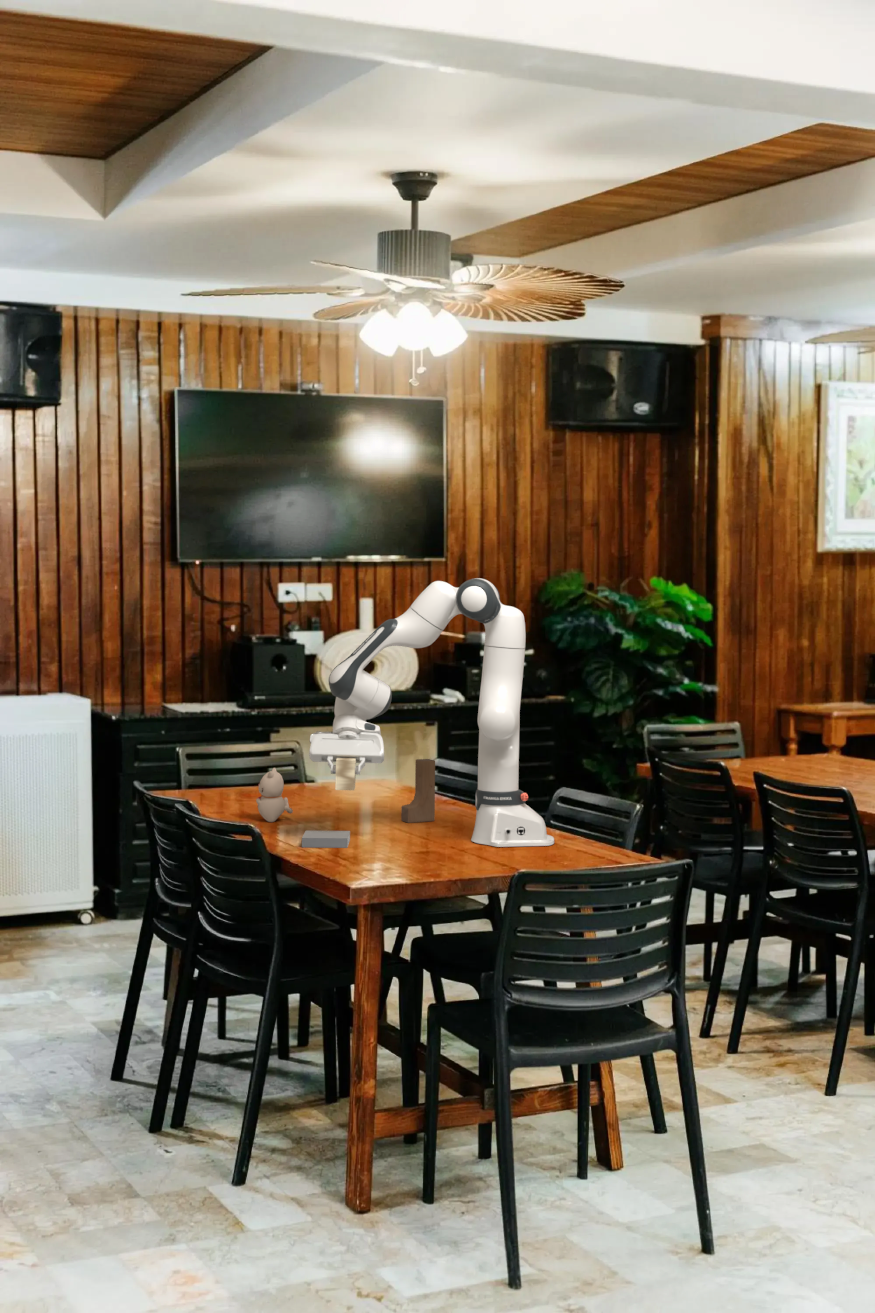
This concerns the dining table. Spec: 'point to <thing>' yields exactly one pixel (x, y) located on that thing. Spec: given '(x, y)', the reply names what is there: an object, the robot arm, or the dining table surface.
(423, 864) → the dining table surface
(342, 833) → the base slab
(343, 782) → the maple post
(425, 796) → the wooden block
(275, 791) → the toy
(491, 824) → the robot arm
